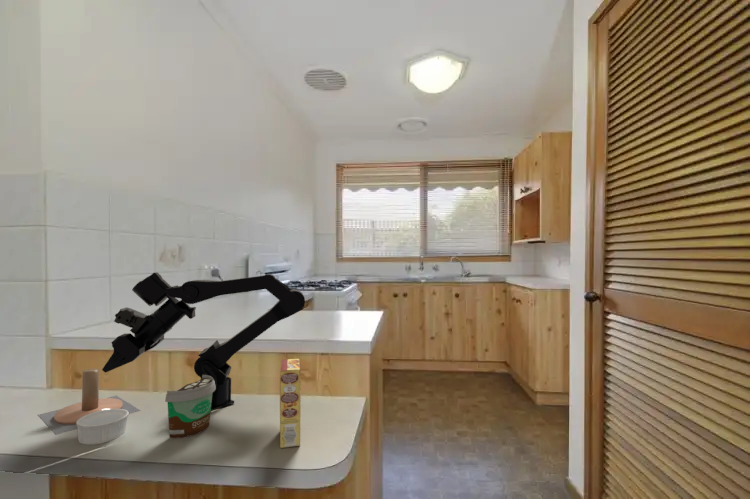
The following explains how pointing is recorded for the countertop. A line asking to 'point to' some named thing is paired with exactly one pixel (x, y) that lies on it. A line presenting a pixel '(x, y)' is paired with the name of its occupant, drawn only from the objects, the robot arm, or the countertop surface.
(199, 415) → the food container
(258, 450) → the countertop surface
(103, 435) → the ramekin
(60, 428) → the mat
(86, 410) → the lid
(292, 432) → the candy box
